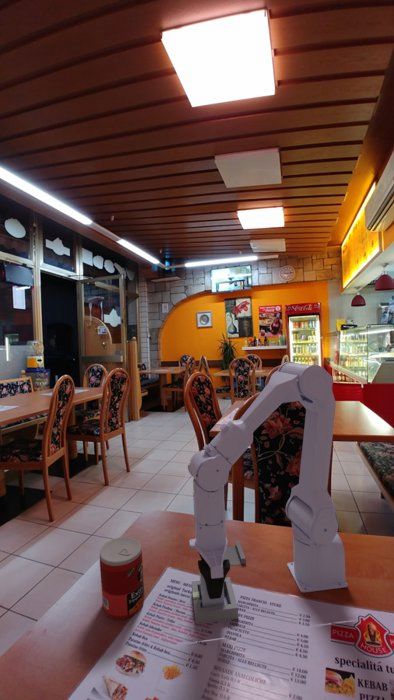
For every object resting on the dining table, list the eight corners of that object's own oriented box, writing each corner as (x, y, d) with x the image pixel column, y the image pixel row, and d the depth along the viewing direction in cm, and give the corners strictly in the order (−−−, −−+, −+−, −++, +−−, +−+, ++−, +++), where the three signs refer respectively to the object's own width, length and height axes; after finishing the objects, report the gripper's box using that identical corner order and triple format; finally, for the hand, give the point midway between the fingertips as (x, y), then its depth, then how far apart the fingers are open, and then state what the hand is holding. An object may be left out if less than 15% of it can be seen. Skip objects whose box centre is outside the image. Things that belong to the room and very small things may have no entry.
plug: (221, 588, 66) (219, 556, 65) (224, 605, 62) (222, 570, 61) (200, 591, 65) (198, 558, 65) (202, 608, 61) (200, 573, 61)
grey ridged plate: (239, 546, 81) (239, 540, 80) (245, 564, 74) (245, 558, 74) (210, 549, 80) (210, 543, 80) (214, 568, 74) (214, 562, 73)
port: (230, 587, 68) (229, 575, 68) (238, 619, 60) (237, 606, 60) (191, 592, 67) (191, 580, 67) (195, 625, 59) (194, 611, 59)
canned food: (136, 623, 60) (132, 564, 60) (95, 618, 62) (91, 560, 61) (150, 591, 68) (147, 537, 67) (113, 586, 70) (110, 535, 69)
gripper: (185, 500, 70) (189, 563, 70) (191, 543, 55) (195, 623, 56) (219, 496, 70) (222, 560, 71) (234, 539, 56) (237, 617, 57)
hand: (213, 587), depth 63 cm, fingers closed on plug, 4 cm apart
